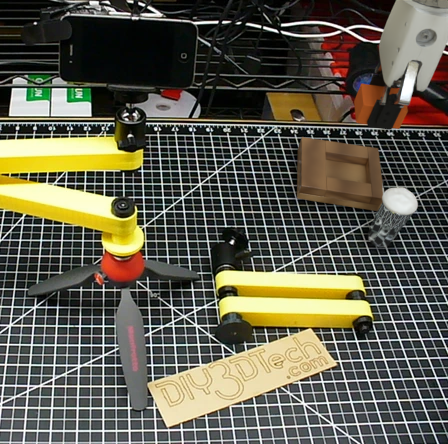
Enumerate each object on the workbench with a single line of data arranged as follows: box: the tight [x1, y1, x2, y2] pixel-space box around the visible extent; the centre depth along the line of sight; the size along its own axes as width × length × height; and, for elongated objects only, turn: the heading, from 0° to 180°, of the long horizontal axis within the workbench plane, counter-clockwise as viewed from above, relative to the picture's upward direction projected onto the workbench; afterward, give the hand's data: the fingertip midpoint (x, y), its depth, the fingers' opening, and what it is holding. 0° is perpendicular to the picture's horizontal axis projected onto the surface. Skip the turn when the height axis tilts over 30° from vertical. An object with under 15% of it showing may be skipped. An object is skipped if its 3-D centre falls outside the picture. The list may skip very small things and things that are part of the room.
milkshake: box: [367, 180, 419, 248], centre depth 79 cm, size 5×5×10 cm
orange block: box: [353, 83, 409, 130], centre depth 76 cm, size 6×5×3 cm
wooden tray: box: [296, 136, 383, 212], centre depth 89 cm, size 12×11×3 cm
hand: (377, 112), depth 77 cm, fingers closed on orange block, 4 cm apart
